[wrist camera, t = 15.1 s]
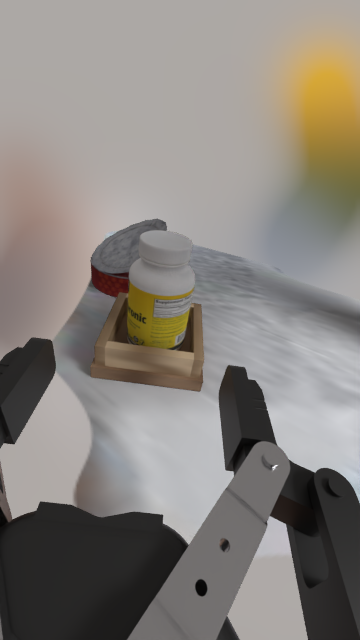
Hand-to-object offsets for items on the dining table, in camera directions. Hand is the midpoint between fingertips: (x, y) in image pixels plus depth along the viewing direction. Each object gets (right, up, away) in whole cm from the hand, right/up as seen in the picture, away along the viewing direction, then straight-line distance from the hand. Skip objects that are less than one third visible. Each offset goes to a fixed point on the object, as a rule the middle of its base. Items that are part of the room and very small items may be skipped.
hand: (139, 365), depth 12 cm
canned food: (-5, +7, +25) cm, 26 cm away
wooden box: (-1, -1, +14) cm, 14 cm away
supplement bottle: (-1, 0, +13) cm, 13 cm away
